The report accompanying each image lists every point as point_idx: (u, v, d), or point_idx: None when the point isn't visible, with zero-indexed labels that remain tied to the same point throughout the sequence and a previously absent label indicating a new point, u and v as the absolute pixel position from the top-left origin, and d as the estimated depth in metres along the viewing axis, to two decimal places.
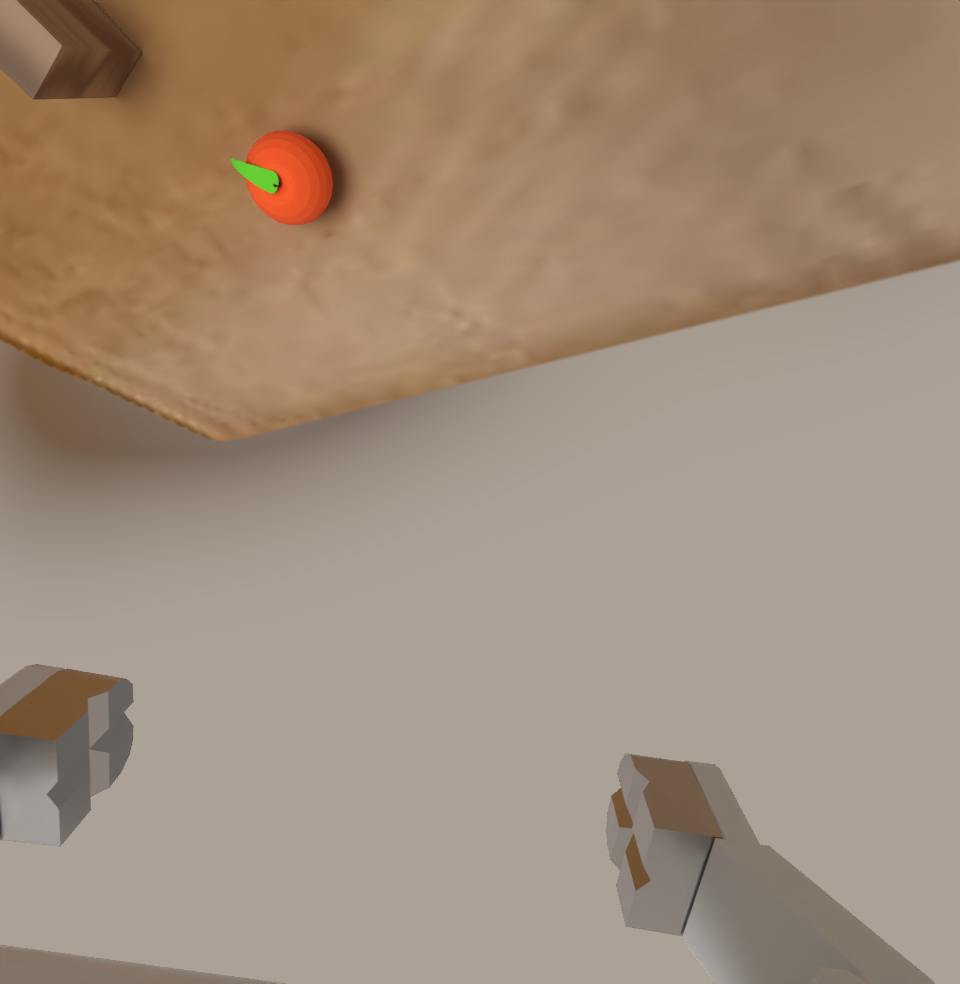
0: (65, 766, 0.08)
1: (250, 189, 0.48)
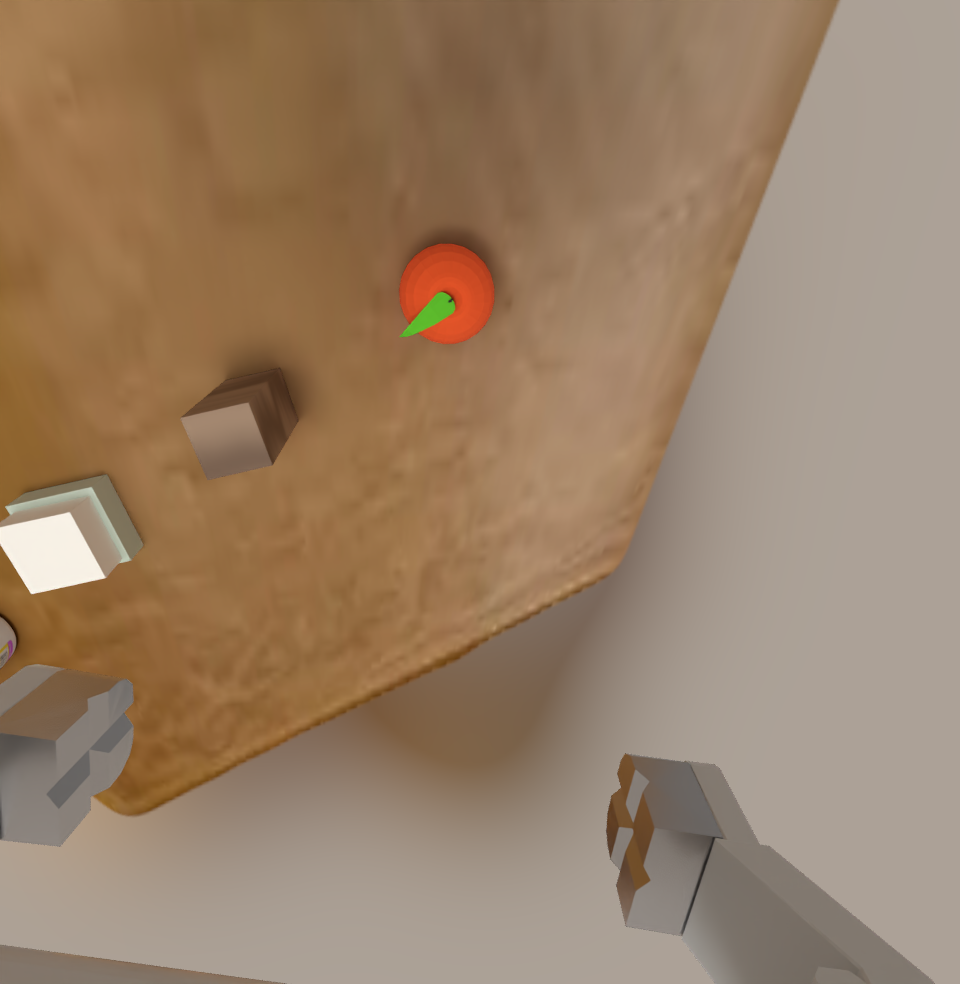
0: (65, 766, 0.08)
1: (437, 335, 0.42)
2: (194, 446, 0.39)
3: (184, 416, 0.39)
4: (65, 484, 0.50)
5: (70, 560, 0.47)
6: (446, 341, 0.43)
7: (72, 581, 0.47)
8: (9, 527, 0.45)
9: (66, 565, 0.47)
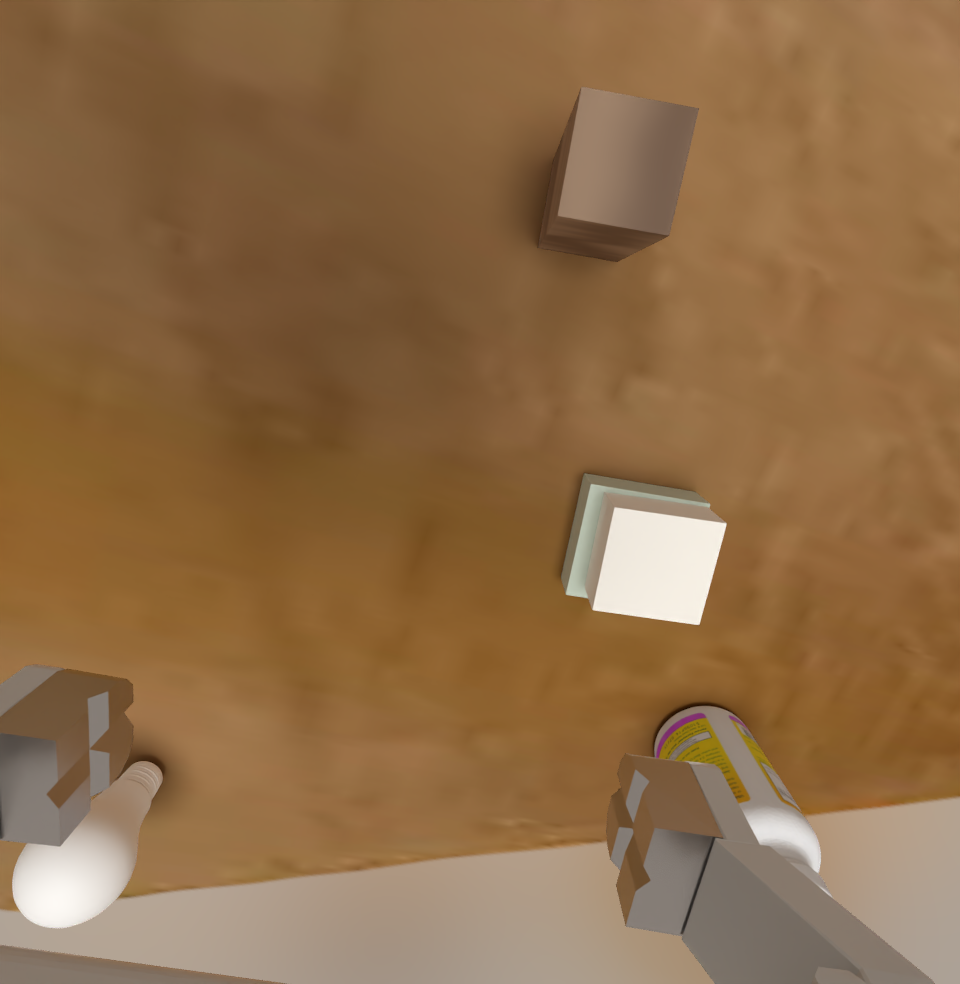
0: (65, 766, 0.08)
1: None
2: (608, 222, 0.24)
3: (558, 211, 0.24)
4: (572, 526, 0.37)
5: (678, 549, 0.32)
6: None
7: (708, 566, 0.32)
8: (600, 588, 0.33)
9: (683, 559, 0.32)
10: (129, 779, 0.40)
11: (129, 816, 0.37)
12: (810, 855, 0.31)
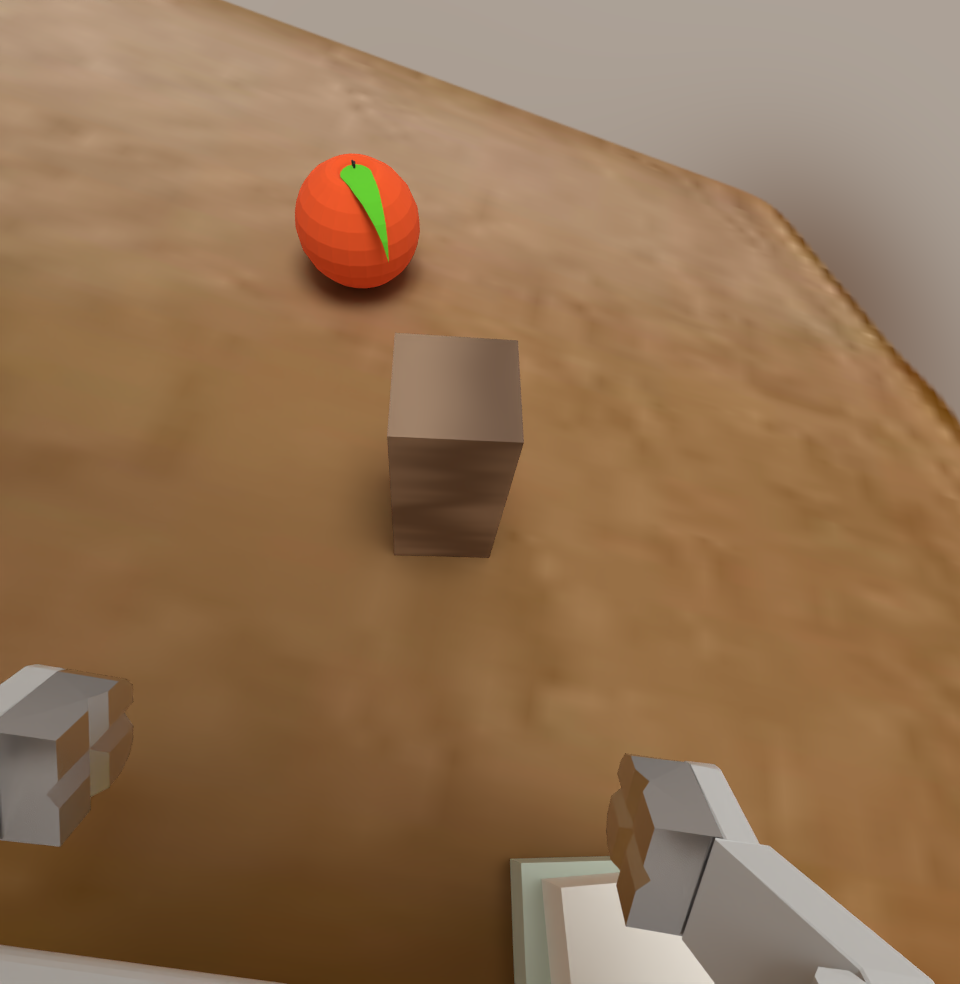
0: (65, 766, 0.08)
1: (396, 207, 0.31)
2: (449, 436, 0.20)
3: None
4: (515, 973, 0.21)
5: None
6: (410, 213, 0.32)
7: None
8: None
9: None
10: None
11: None
12: None
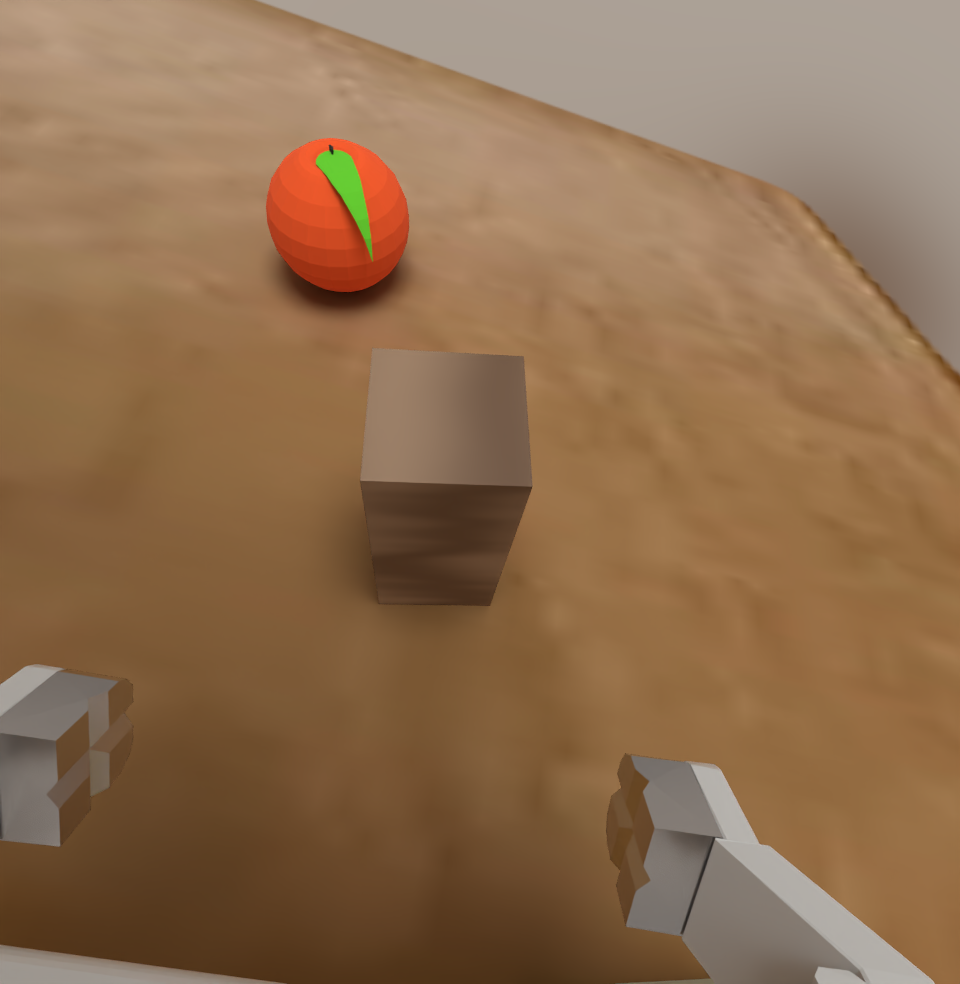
0: (65, 766, 0.08)
1: (381, 199, 0.27)
2: (439, 479, 0.16)
3: None
4: None
5: None
6: (397, 206, 0.28)
7: None
8: None
9: None
10: None
11: None
12: None
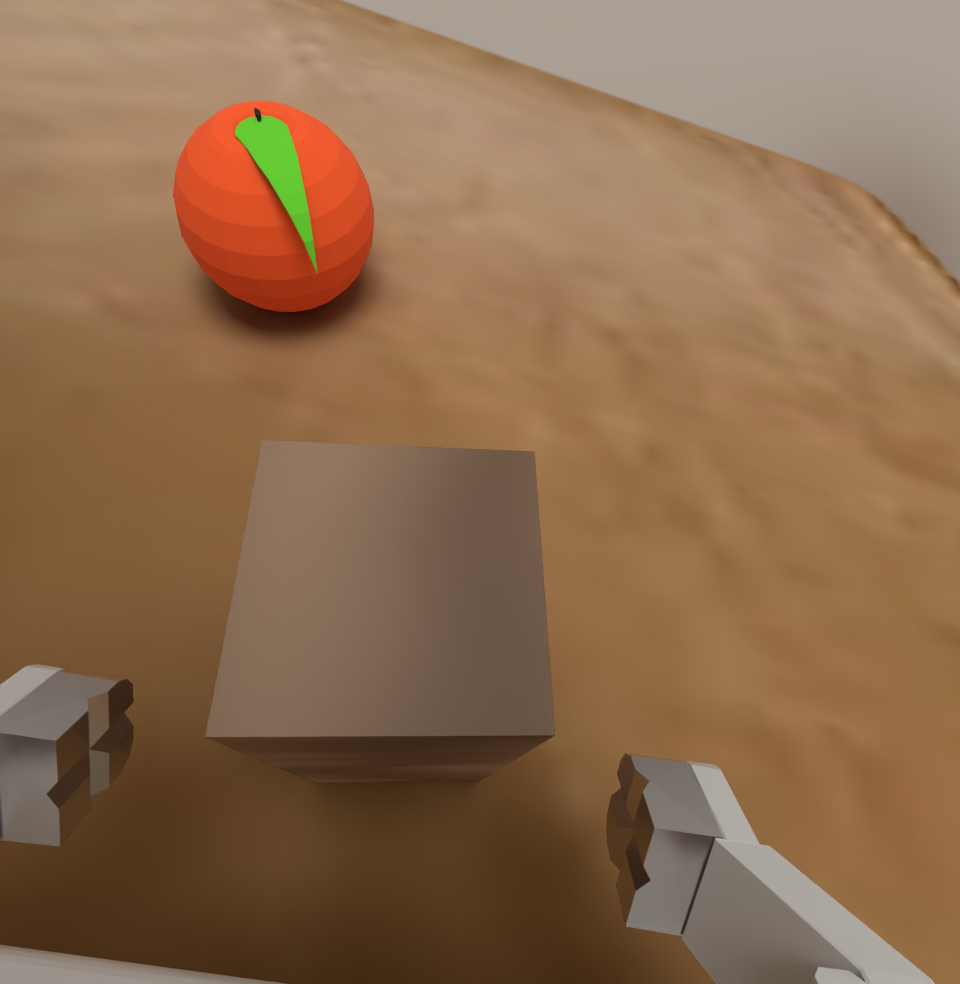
0: (65, 766, 0.08)
1: (330, 186, 0.20)
2: (368, 727, 0.08)
3: None
4: None
5: None
6: (354, 195, 0.20)
7: None
8: None
9: None
10: None
11: None
12: None
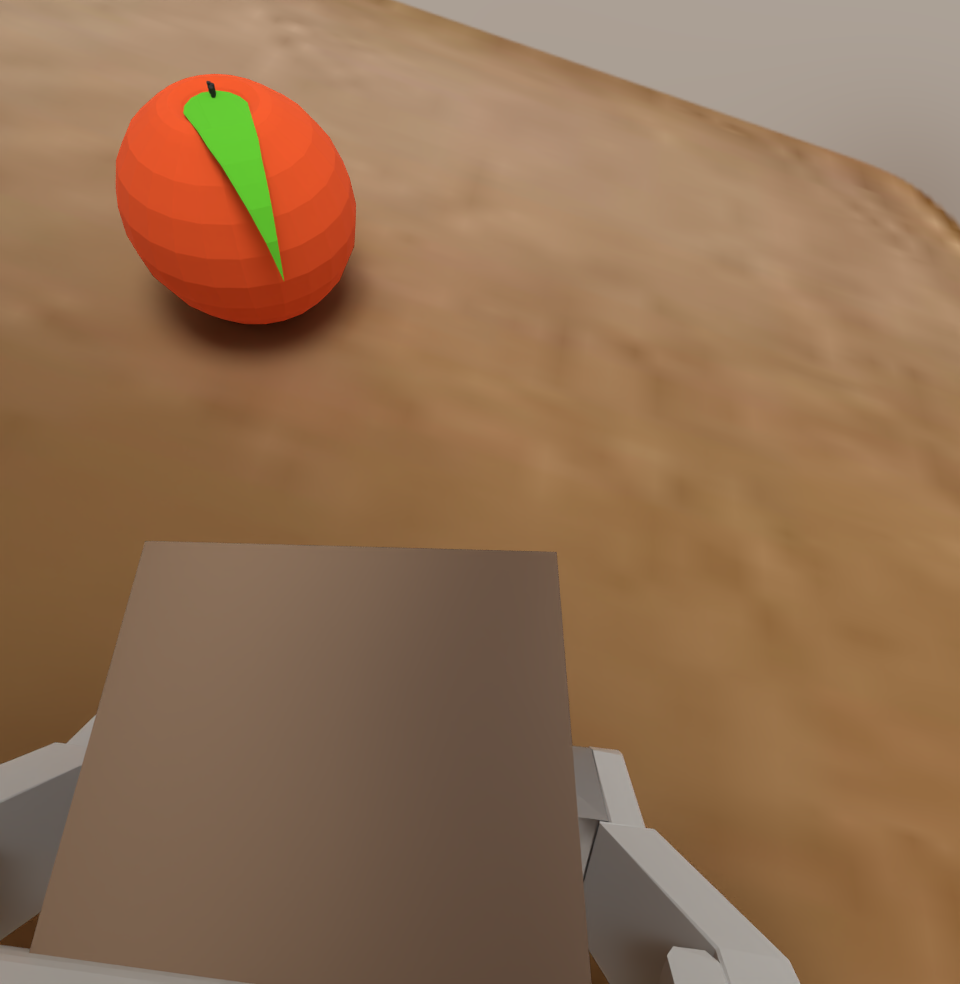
0: None
1: (299, 176, 0.16)
2: None
3: None
4: None
5: None
6: (330, 187, 0.17)
7: None
8: None
9: None
10: None
11: None
12: None
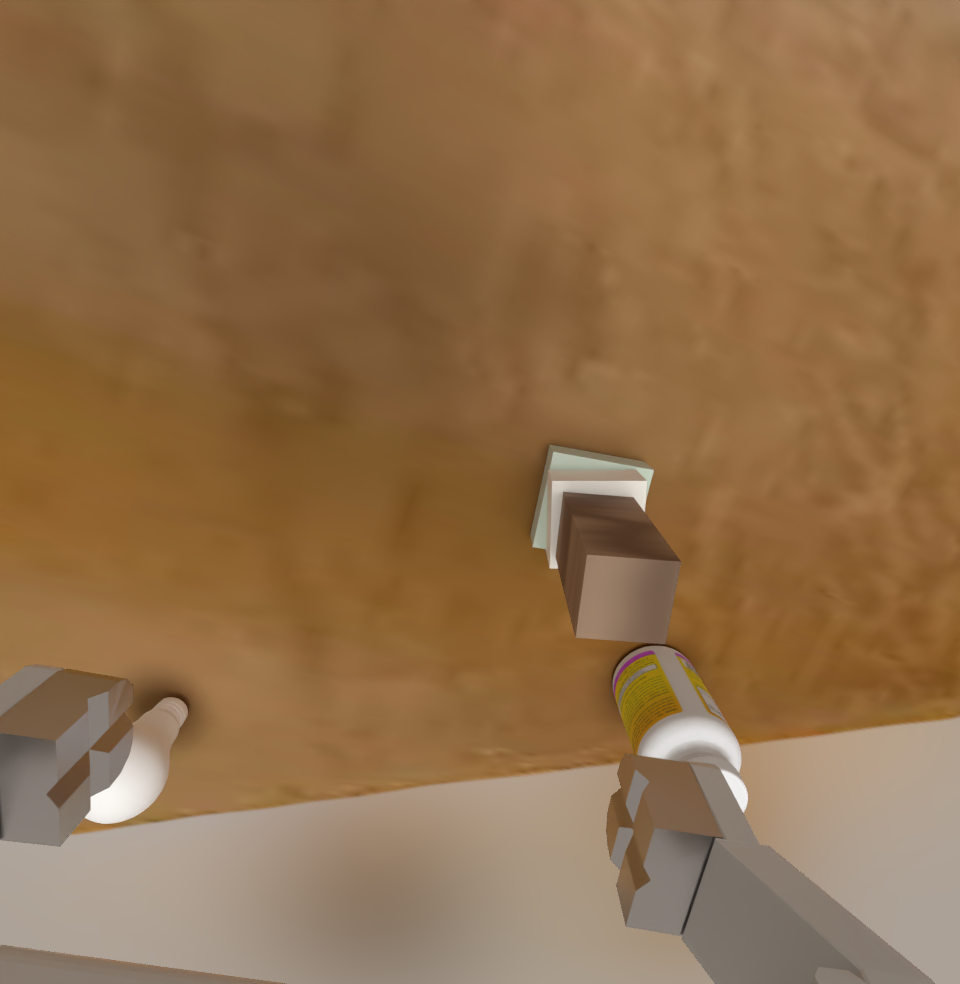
0: (65, 766, 0.08)
1: None
2: (616, 638, 0.30)
3: (575, 631, 0.30)
4: (540, 490, 0.44)
5: None
6: None
7: None
8: (552, 549, 0.39)
9: None
10: (160, 710, 0.46)
11: (162, 737, 0.44)
12: (730, 755, 0.38)
